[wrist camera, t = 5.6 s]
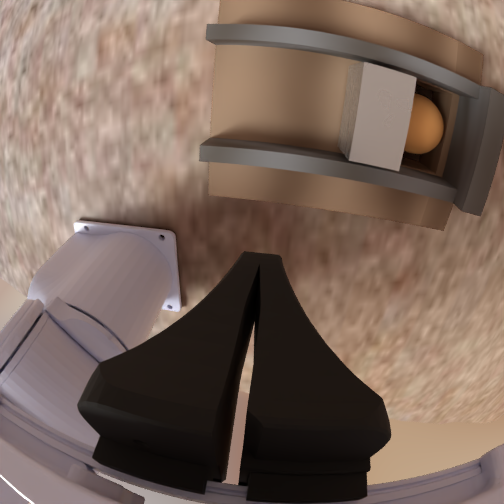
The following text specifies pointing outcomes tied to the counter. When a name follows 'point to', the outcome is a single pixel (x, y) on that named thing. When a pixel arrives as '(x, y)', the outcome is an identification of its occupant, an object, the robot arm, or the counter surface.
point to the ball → (423, 126)
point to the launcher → (331, 109)
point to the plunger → (376, 115)
